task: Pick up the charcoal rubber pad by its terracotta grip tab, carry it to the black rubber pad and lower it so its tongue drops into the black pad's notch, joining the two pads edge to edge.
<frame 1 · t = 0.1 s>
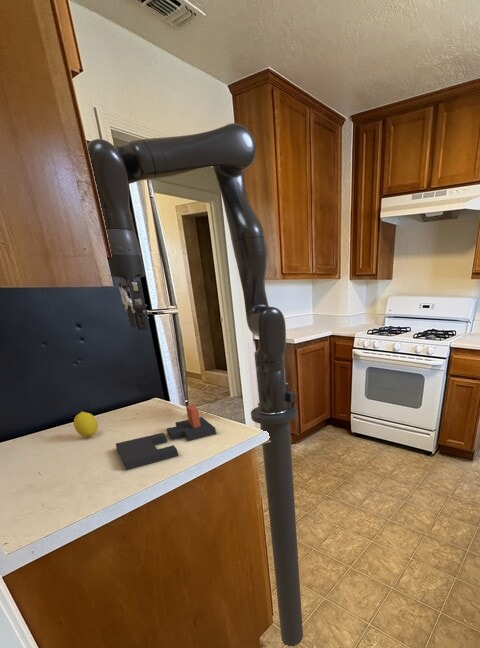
hand: (138, 328, 86), 31 cm above the counter, tool pointing down, fingers open, 8 cm apart
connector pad: (195, 431, 105), on the counter
base pad: (147, 453, 92), on the counter
lemon: (90, 438, 103), on the counter
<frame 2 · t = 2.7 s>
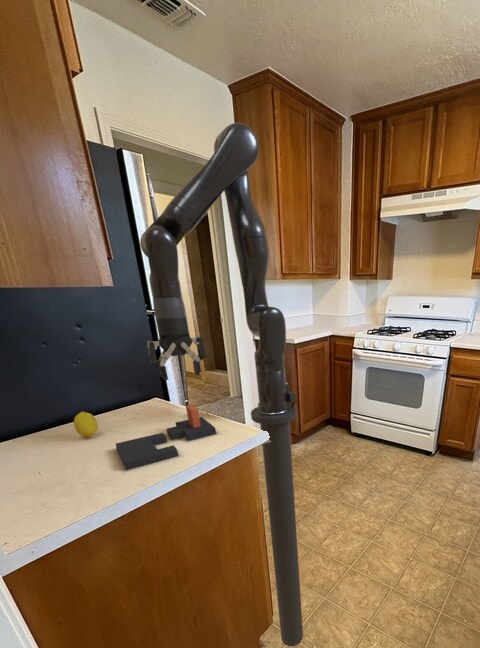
hand: (182, 377, 98), 17 cm above the counter, tool pointing down, fingers open, 8 cm apart
nothing on the counter moved.
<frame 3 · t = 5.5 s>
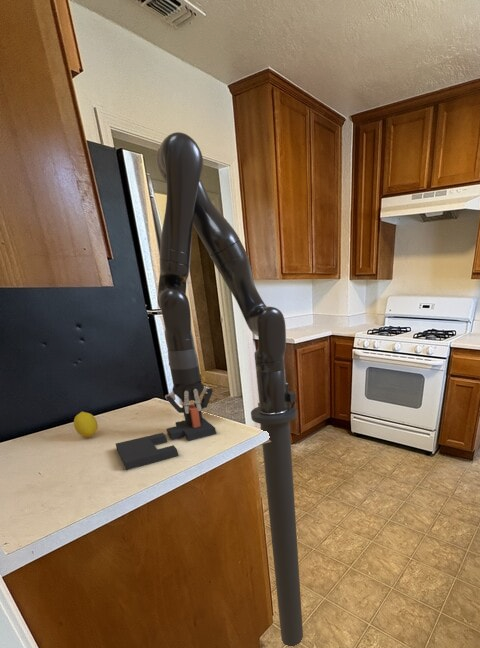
hand: (194, 423, 104), 3 cm above the counter, tool pointing down, fingers closed on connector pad
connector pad: (195, 431, 105), on the counter, touching gripper
everything else where it was.
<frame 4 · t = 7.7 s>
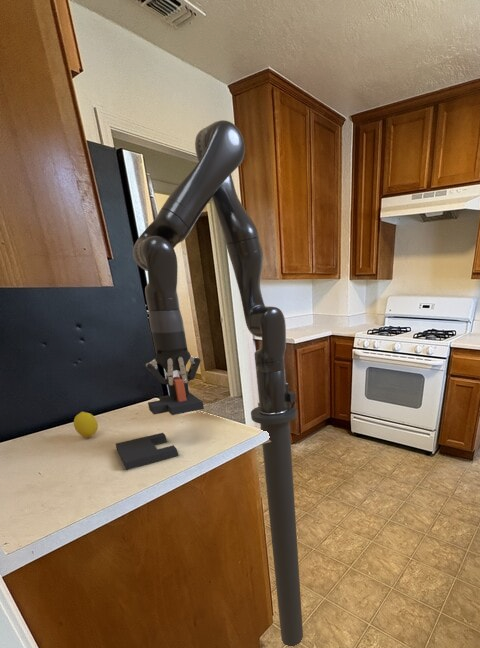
hand: (180, 397, 93), 13 cm above the counter, tool pointing down, fingers closed on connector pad
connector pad: (181, 406, 94), point 10 cm above the counter, touching gripper
everything else where it was.
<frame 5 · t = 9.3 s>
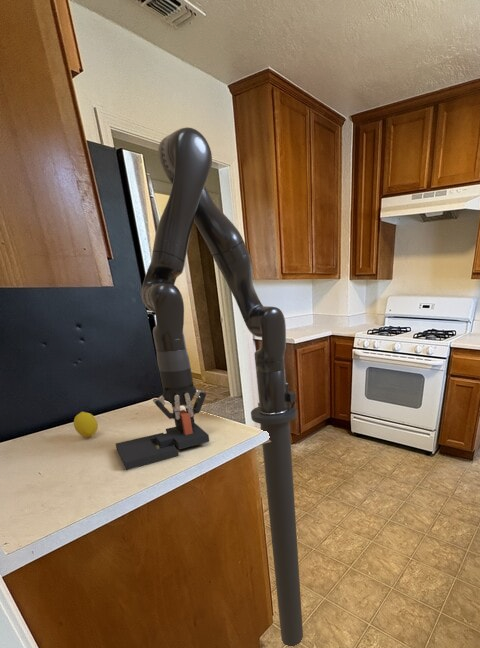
hand: (186, 429, 96), 4 cm above the counter, tool pointing down, fingers closed on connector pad
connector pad: (187, 438, 97), point 1 cm above the counter, touching gripper
everything else where it was.
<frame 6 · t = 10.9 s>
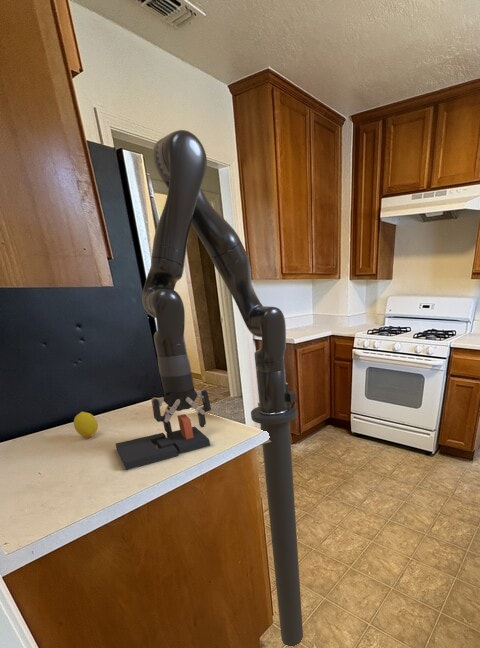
hand: (186, 430, 96), 4 cm above the counter, tool pointing down, fingers open, 8 cm apart
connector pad: (188, 442, 98), on the counter
everything else where it was.
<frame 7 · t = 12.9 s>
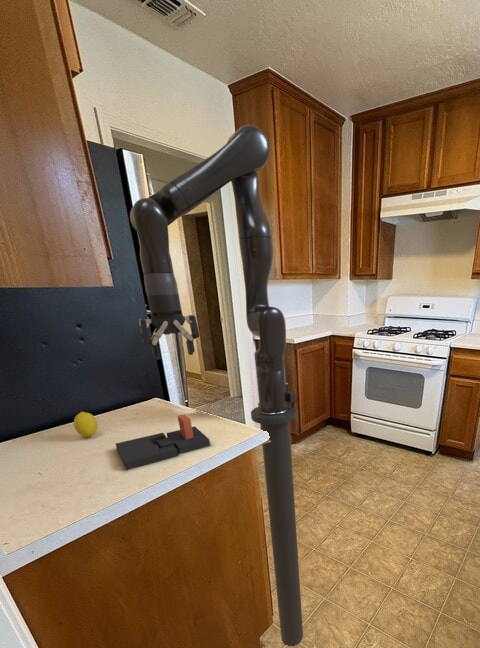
hand: (175, 356, 96), 22 cm above the counter, tool pointing down, fingers open, 8 cm apart
nothing on the counter moved.
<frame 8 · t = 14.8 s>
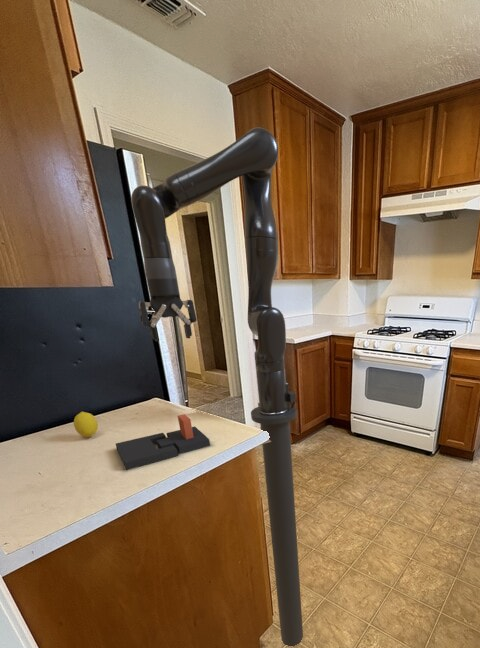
hand: (173, 339, 100), 26 cm above the counter, tool pointing down, fingers open, 8 cm apart
nothing on the counter moved.
at the end: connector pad 0.5 cm from the target spot on the counter beside the base pad, on the counter; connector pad tilted 0°; the gripper is holding nothing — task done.
